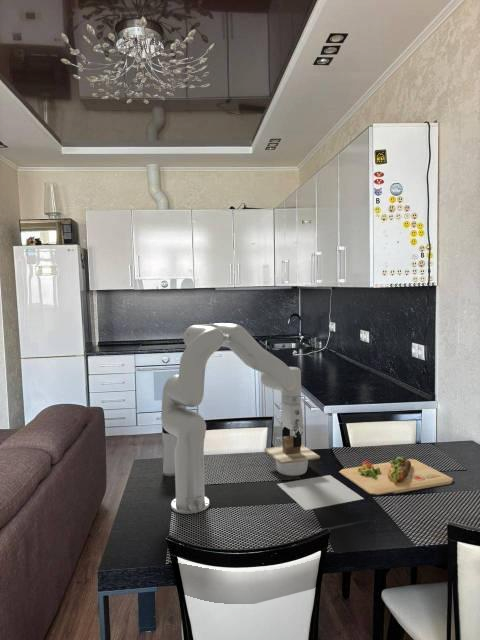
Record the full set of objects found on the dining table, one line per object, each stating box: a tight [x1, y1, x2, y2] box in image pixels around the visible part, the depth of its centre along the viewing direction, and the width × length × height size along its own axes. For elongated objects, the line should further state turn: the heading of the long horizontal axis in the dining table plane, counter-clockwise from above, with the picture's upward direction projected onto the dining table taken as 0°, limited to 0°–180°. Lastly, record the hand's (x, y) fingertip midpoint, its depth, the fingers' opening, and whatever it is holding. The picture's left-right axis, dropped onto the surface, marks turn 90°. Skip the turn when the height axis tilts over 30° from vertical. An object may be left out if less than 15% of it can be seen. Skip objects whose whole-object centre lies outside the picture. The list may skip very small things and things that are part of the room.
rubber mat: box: [276, 474, 365, 511], centre depth 166 cm, size 22×22×1 cm
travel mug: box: [161, 425, 178, 477], centre depth 186 cm, size 6×7×20 cm
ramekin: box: [275, 459, 309, 477], centre depth 186 cm, size 13×13×7 cm
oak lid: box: [264, 434, 321, 464], centre depth 185 cm, size 16×16×7 cm
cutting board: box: [338, 456, 454, 496], centre depth 179 cm, size 35×23×8 cm
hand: (291, 442), depth 185 cm, fingers open, 9 cm apart
